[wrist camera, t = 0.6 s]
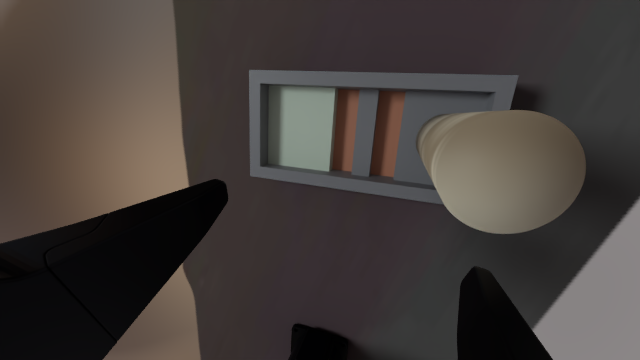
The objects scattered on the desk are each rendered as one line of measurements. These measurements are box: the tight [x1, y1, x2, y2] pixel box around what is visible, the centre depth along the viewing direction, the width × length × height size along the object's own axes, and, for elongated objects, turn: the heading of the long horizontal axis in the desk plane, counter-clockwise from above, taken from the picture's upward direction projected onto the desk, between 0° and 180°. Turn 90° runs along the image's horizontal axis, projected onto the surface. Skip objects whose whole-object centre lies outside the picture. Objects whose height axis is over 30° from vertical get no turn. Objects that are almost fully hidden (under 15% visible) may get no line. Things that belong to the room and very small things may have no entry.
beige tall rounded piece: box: [416, 110, 586, 234], centre depth 14 cm, size 4×4×12 cm
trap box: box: [249, 70, 518, 205], centre depth 21 cm, size 9×19×3 cm, turn 86°
